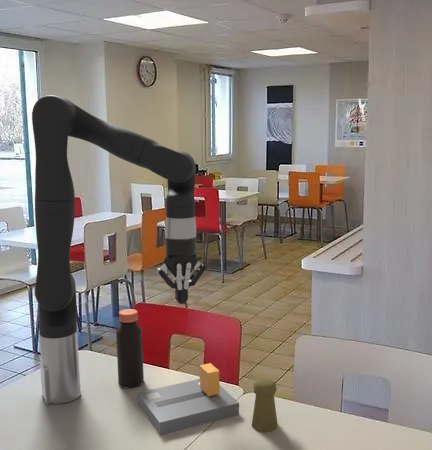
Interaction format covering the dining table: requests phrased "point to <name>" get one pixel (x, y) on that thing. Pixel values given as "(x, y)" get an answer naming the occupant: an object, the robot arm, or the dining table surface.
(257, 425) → the olive pawn
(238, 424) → the dining table surface
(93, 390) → the dining table surface
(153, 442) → the dining table surface
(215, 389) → the knob
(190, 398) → the panel
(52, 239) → the robot arm
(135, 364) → the bottle
